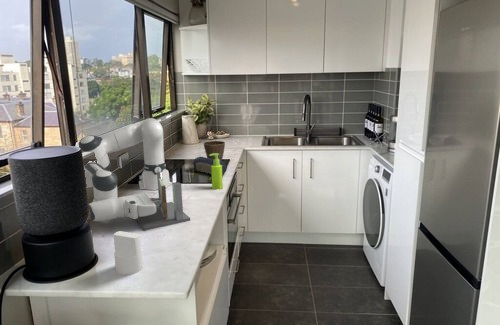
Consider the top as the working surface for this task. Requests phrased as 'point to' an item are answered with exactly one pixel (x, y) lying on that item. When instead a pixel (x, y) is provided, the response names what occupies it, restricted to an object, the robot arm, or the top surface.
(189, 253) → the top surface
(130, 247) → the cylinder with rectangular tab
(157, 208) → the gate frame
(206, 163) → the portable speaker
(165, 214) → the gate leaf
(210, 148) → the plant pot
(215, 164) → the soap dispenser
